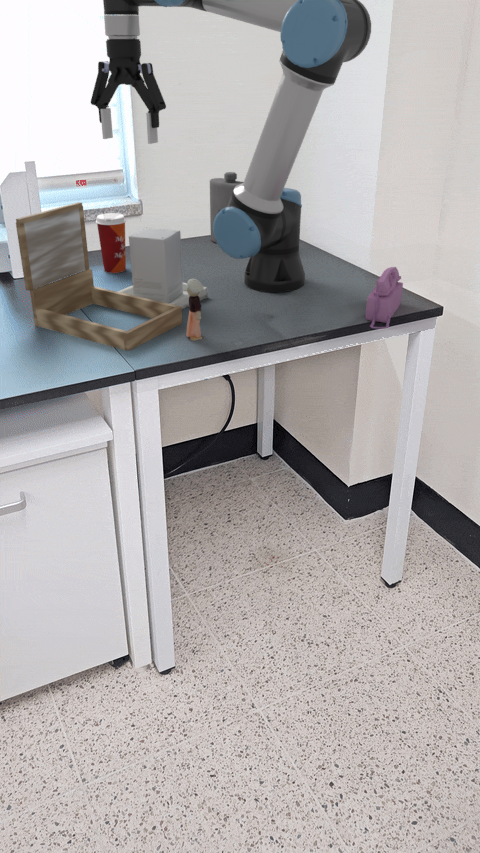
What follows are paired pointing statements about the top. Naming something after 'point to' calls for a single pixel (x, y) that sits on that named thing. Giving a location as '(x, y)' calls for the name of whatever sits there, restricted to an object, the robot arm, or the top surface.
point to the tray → (179, 301)
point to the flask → (221, 195)
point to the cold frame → (79, 282)
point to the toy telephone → (384, 298)
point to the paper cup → (112, 241)
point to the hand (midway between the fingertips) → (130, 140)
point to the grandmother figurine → (194, 309)
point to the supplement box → (156, 264)
